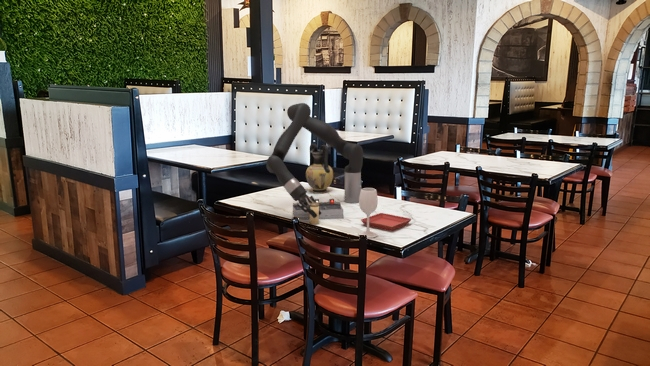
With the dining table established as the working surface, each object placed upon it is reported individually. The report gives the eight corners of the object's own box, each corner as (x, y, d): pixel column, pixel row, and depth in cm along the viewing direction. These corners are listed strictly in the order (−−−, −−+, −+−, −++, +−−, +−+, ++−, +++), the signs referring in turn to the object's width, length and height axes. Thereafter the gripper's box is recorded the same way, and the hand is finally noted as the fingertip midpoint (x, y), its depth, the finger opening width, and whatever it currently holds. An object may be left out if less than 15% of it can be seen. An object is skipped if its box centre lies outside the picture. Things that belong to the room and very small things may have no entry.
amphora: (300, 192, 311) (299, 144, 305) (316, 187, 325) (316, 141, 318) (322, 196, 301) (322, 146, 295) (338, 191, 314) (339, 143, 308)
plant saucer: (380, 218, 253) (381, 212, 252) (412, 225, 242) (412, 218, 241) (359, 226, 239) (359, 219, 239) (391, 233, 228) (392, 226, 227)
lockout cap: (318, 221, 246) (318, 202, 244) (319, 224, 242) (319, 204, 240) (309, 222, 245) (309, 202, 243) (310, 224, 241) (309, 204, 239)
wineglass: (354, 235, 225) (354, 189, 220) (366, 231, 231) (367, 186, 226) (368, 239, 219) (369, 192, 214) (381, 235, 224) (382, 189, 220)
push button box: (339, 211, 265) (339, 198, 263) (343, 218, 252) (343, 204, 251) (292, 213, 262) (292, 199, 260) (294, 220, 249) (293, 205, 248)
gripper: (293, 187, 236) (316, 214, 234) (306, 181, 249) (328, 207, 247) (283, 197, 239) (306, 224, 237) (297, 191, 252) (319, 216, 250)
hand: (317, 215), depth 242 cm, fingers closed on lockout cap, 4 cm apart
